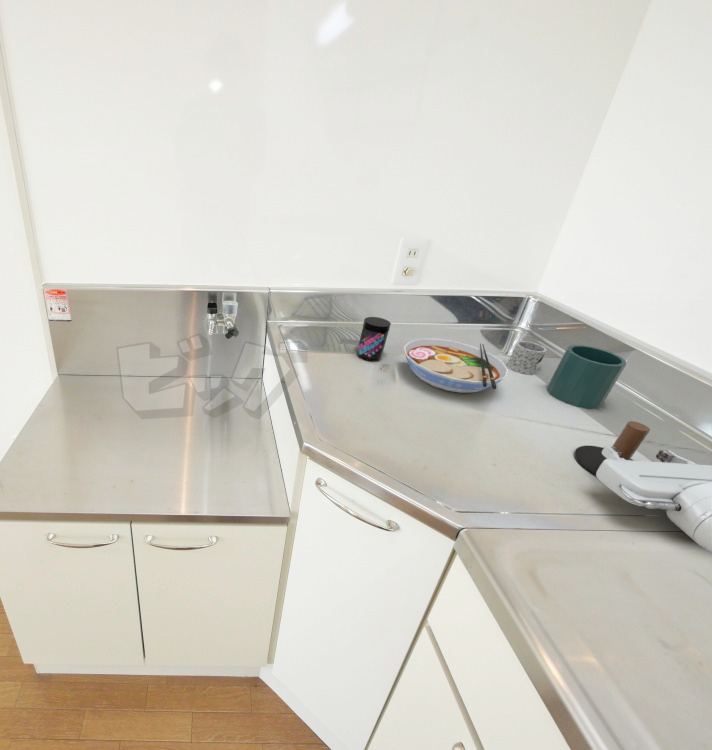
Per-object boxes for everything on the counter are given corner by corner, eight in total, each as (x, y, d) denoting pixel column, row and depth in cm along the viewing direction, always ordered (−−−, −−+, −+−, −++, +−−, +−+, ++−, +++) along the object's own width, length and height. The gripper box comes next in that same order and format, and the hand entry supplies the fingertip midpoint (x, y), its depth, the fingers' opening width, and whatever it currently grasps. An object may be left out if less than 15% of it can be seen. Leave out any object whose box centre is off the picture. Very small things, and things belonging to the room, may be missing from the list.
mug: (539, 376, 111) (550, 353, 108) (511, 371, 113) (521, 349, 109) (527, 359, 119) (537, 338, 116) (501, 355, 121) (510, 334, 118)
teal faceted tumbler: (585, 394, 104) (611, 349, 97) (606, 418, 95) (636, 369, 89) (537, 387, 106) (560, 342, 100) (553, 408, 97) (579, 361, 91)
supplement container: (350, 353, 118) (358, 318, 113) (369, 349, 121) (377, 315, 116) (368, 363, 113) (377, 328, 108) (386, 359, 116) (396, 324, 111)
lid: (629, 457, 83) (658, 415, 78) (664, 498, 73) (700, 453, 68) (562, 444, 86) (586, 403, 80) (587, 483, 76) (617, 438, 71)
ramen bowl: (401, 353, 120) (409, 327, 115) (493, 374, 111) (505, 346, 107) (389, 394, 100) (398, 363, 96) (500, 423, 91) (515, 391, 87)
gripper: (627, 521, 65) (566, 461, 77) (765, 530, 64) (682, 468, 76) (650, 491, 62) (582, 433, 74) (795, 500, 61) (703, 440, 73)
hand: (634, 451), depth 75 cm, fingers open, 8 cm apart
